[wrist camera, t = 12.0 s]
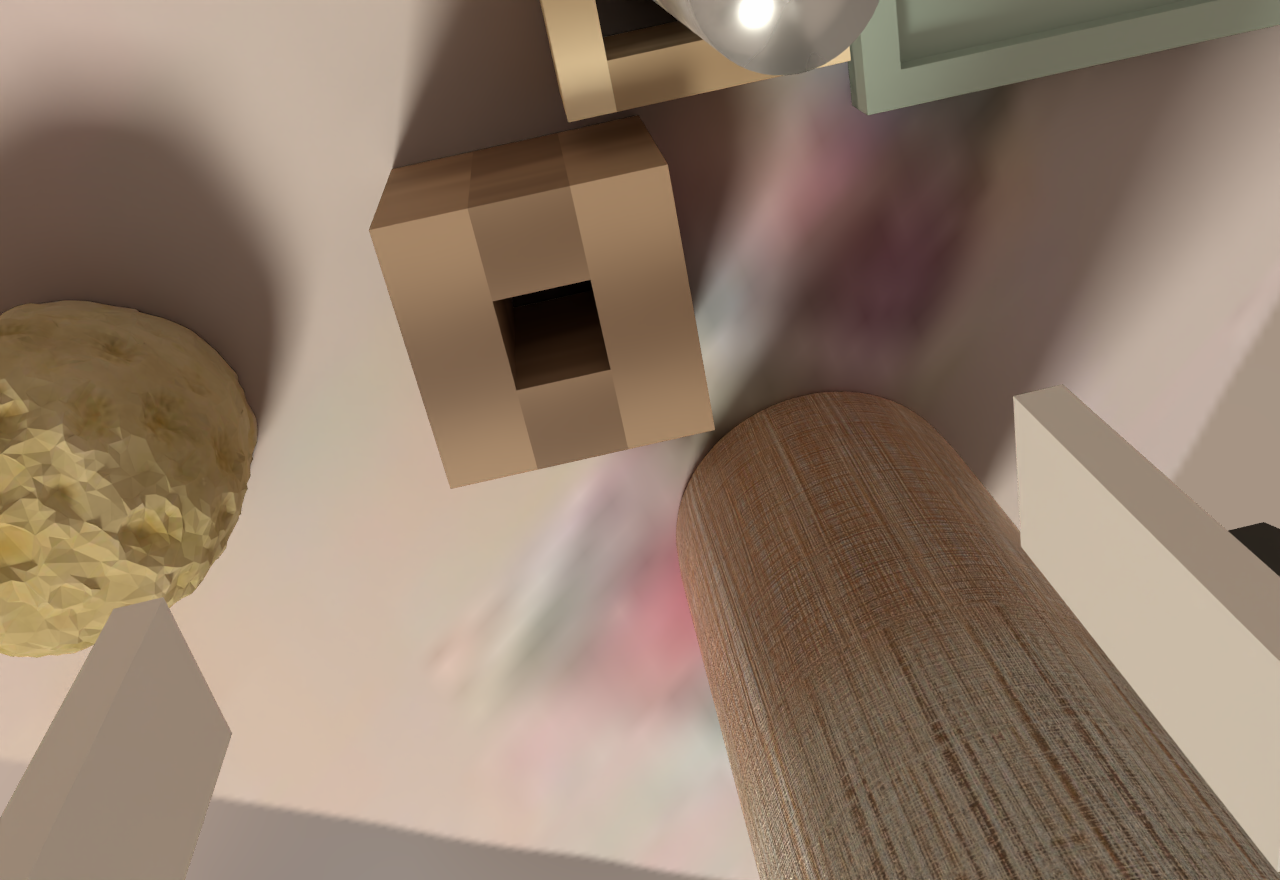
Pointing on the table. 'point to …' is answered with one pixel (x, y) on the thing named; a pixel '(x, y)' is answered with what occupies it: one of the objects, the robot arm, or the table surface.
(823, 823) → the planter
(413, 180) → the block
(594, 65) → the block
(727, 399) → the table surface
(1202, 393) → the table surface
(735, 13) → the cylinder
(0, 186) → the table surface
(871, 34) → the tray
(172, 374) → the decorative item
